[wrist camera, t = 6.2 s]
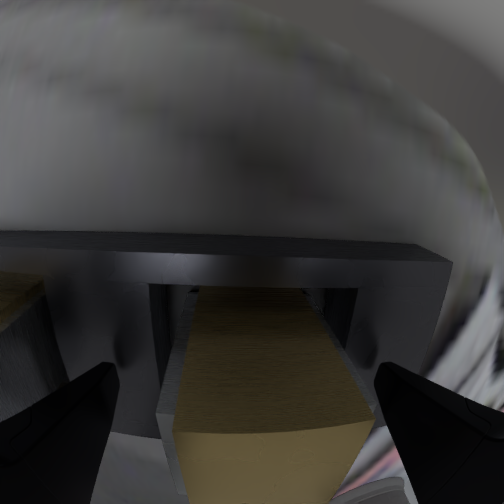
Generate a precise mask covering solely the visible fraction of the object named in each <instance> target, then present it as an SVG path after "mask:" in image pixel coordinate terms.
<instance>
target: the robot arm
mask: <svg viewBox="0 0 504 504" xmlns="http://www.w3.org/2000/svg"><path fill="white" fill-rule="evenodd" d="M374 388H375V391H376V395H377V398H378V401H379V404H380V407H381V411H382V414H383V417H384V420H385V422H386V425H387V427H388V429H389V432H390V434H391V436H392V439H393V441H394V443H395V446H396V448H397V451H398V453H399V455H400V458H401V460H402V463H403V465H404V468H405V470H406V473H407V475H408V478H409V480H410V483H411V485H412V488H413V491H414V493H415V495H416V498H417V501H418V504H504V412H501V411H498V410H495V409H492V408H489V407H487V406H484V405H482V404H479V403H477V402H475V401H472V400H470V399H468V398H466V397H465V398H464V396H462V395H459V394H457V393H455V392H453V391H451V390H449V389H447V388H445V387H442V386H440V385H438V384H436V383H434V382H432V381H430V380H428V379H426V378H424V377H422V376H420V375H418V374H416V373H414V372H411V371H409V370H407V369H405V368H403V367H401V366H399V365H397V364H395V363H393V362H391V361H389V362H382V363H381V364H380V365H379V367H378V370H377V373H376V376H375V378H374ZM119 389H120V381H119V377H118V373H117V369H116V365H115V364H114V363H112V362H101V363H100V364H98V365H96V366H95V367H93V368H92V369H90V370H88V371H87V372H85V373H83V374H82V375H80V376H79V377H77V378H75V379H74V380H72V381H70V382H69V383H67V384H65V385H64V386H62V387H61V388H59V389H57V390H56V391H54V392H52V393H51V394H49V395H47V396H46V397H44V398H42V399H41V400H39V401H37V402H36V403H34V404H32V406H29V407H27V408H26V409H24V410H22V411H21V412H19V413H17V414H15V415H14V416H12V417H10V418H8V419H6V420H4V421H2V422H0V504H90V501H91V497H92V493H93V489H94V485H95V482H96V478H97V474H98V471H99V467H100V464H101V460H102V457H103V453H104V450H105V447H106V443H107V440H108V437H109V434H110V431H111V427H112V423H113V419H114V414H115V408H116V403H117V398H118V394H119Z"/></svg>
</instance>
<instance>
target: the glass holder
mask: <svg viewBox="0 0 504 504" xmlns="http://www.w3.org/2000/svg"><path fill="white" fill-rule="evenodd" d="M329 504H410V503H409V501H408V499H407V497H406V495H405V493H404V480H403V479H402V478H400V477H391V478H385V479H381V480H378V481H374V482H371V483H368V484H365V485H363V486H360V487H358V488H355V489H353V490H350V491H348V492H346V493H344V494H342V495H340V496H338V497H336V498H334V499H332V500H331V501H330V502H329Z"/></svg>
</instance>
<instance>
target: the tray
mask: <svg viewBox="0 0 504 504" xmlns="http://www.w3.org/2000/svg"><path fill="white" fill-rule="evenodd" d="M452 265H453V262H452V261H450V260H448V259H446V258H444V257H442V256H440V255H438V254H436V253H433V252H431V251H429V250H427V249H425V248H423V247H421V246H419V245H416V244H400V243H383V242H365V241H347V240H328V239H307V238H285V237H262V236H236V235H208V234H176V233H138V232H87V231H0V271H5V272H15V273H24V274H34V275H43V280H44V286H45V291H46V297H47V302H48V306H49V311H50V315H51V319H52V324H53V327H54V331H55V335H56V339H57V342H58V346H59V349H60V353H61V356H62V359H63V362H64V365H65V369H66V372H67V375H66V376H65V378H64V380H63V381H62V383H61V384H60V386H59V387H58V389H59V388H61V387H62V386H64V385H65V384H67V383H69V382H70V381H72V380H74V379H75V378H77V377H79V376H80V375H82V374H83V373H85V372H87V371H88V370H90V369H92V368H93V367H95V366H96V365H98V364H100V363H101V362H112V363H114V364H115V365H116V369H117V373H118V377H119V381H120V389H119V394H118V398H117V403H116V408H115V414H114V419H113V423H112V427H111V431H112V432H117V433H123V434H128V435H135V436H141V437H148V438H156V439H162V438H161V434H160V430H159V426H158V422H157V418H156V409H157V405H158V401H159V397H160V393H161V389H162V385H163V381H164V377H165V373H166V369H167V366H168V362H169V358H170V354H171V346H170V335H169V322H168V308H167V290H166V284H176V285H200V286H228V287H270V288H328V294H327V300H326V306H325V312H324V318H325V320H326V322H327V323H328V325H329V326H330V328H331V330H332V331H333V333H334V334H335V336H336V338H337V339H338V341H339V342H340V344H341V346H342V347H343V349H344V351H345V352H346V354H347V355H348V357H349V359H350V360H351V362H352V364H353V365H354V367H355V368H356V370H357V372H358V373H359V375H360V377H361V378H362V380H363V382H364V383H365V385H366V387H367V388H368V390H369V392H370V393H371V395H372V397H373V398H374V400H375V402H376V403H377V406H376V408H375V410H374V412H373V414H374V416H375V418H376V420H375V422H374V424H373V426H372V428H371V429H373V428H377V427H382V426H386V422H385V420H384V417H383V414H382V411H381V407H380V404H379V401H378V398H377V395H376V391H375V388H374V378H375V376H376V373H377V370H378V367H379V365H380V364H381V363H382V362H389V361H391V362H393V363H395V364H397V365H399V366H401V367H403V368H405V369H407V370H409V371H411V372H414V373H416V374H418V373H419V370H420V368H421V365H422V363H423V360H424V358H425V355H426V352H427V350H428V347H429V344H430V341H431V339H432V336H433V333H434V330H435V327H436V324H437V321H438V317H439V314H440V311H441V307H442V304H443V300H444V297H445V293H446V289H447V286H448V282H449V278H450V273H451V269H452Z"/></svg>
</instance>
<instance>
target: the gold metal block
mask: <svg viewBox="0 0 504 504" xmlns="http://www.w3.org/2000/svg"><path fill="white" fill-rule="evenodd" d="M376 406H377V403H376V402H375V400H374V398H373V397H372V395H371V393H370V392H369V390H368V388H367V387H366V385H365V383H364V382H363V380H362V378H361V377H360V375H359V373H358V372H357V370H356V368H355V367H354V365H353V364H352V362H351V360H350V359H349V357H348V355H347V354H346V352H345V351H344V349H343V347H342V346H341V344H340V342H339V341H338V339H337V338H336V336H335V334H334V333H333V331H332V330H331V328H330V326H329V325H328V323H327V322H326V320H325V318H324V317H323V315H322V314H321V312H320V310H319V309H318V307H317V306H316V304H315V303H314V301H313V299H312V298H311V296H310V295H309V294H304V293H303V292H302V290H301V288H270V287H228V286H200V288H199V292H188V295H187V298H186V301H185V305H184V308H183V312H182V315H181V319H180V322H179V326H178V329H177V333H176V336H175V340H174V343H173V347H172V351H171V354H170V358H169V362H168V366H167V369H166V373H165V377H164V381H163V385H162V389H161V393H160V397H159V401H158V405H157V409H156V418H157V422H158V426H159V430H160V434H161V438H162V442H163V446H164V450H165V453H166V457H167V460H168V464H169V467H170V471H171V474H172V477H173V480H174V483H175V487H176V490H177V493H178V495H188V499H189V502H190V504H329V502H330V501H331V499H332V498H333V496H334V494H335V493H336V491H337V490H338V488H339V487H340V485H341V483H342V482H343V480H344V478H345V477H346V475H347V473H348V472H349V470H350V468H351V466H352V465H353V463H354V461H355V459H356V458H357V456H358V454H359V452H360V450H361V448H362V446H363V444H364V442H365V441H366V439H367V437H368V435H369V433H370V431H371V428H372V426H373V424H374V422H375V420H376V418H375V416H374V414H373V412H374V410H375V408H376Z"/></svg>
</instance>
